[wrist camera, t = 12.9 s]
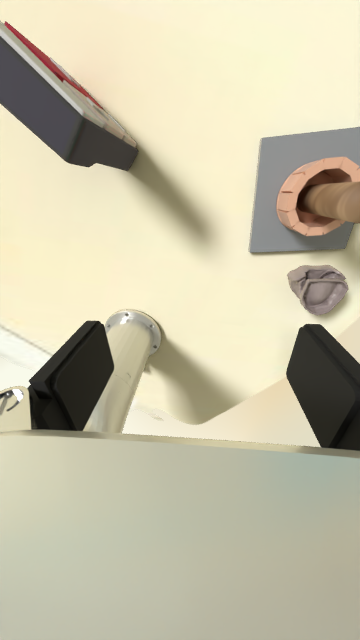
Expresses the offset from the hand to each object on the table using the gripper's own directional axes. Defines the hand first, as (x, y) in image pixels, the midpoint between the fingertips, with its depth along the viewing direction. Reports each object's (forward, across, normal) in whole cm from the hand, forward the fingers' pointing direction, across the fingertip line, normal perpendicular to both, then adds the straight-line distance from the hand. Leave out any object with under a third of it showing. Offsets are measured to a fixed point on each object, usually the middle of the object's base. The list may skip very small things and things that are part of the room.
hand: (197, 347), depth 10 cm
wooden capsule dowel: (+26, -15, -6) cm, 30 cm away
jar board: (+27, -15, -6) cm, 32 cm away
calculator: (+28, +14, -15) cm, 35 cm away
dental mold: (+28, -19, +7) cm, 34 cm away
